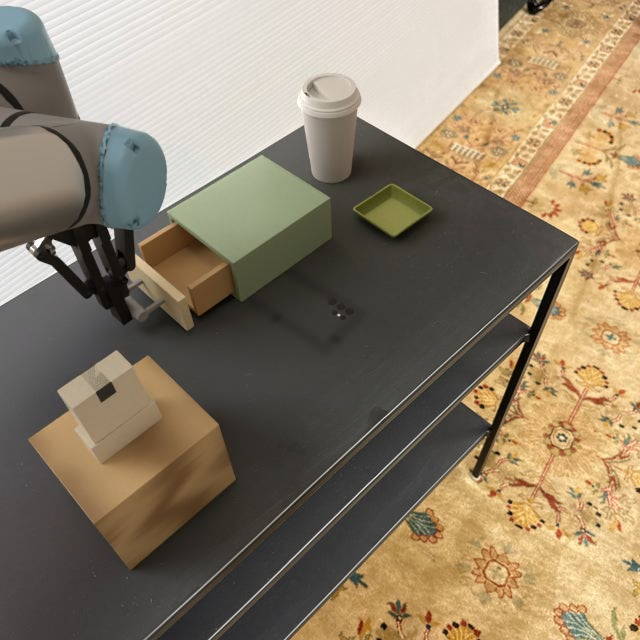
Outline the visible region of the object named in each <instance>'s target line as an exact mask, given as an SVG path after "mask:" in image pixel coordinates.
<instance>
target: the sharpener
mask: <svg viewBox="0 0 640 640" xmlns="http://www.w3.org/2000/svg"><path fill="white" fill-rule="evenodd" d="M56 392H57V394H58V395H59V397H60V398H61V400H62V401H63V403H64V404H65V406H66V408H67V409H68V411H69V410H70V412H71V414H72V415H73V417H74V418H75V420H76V421H77V423H78V425H79V426H78V427H76V428H75V431H76V433H77V434H78V436H79V437H80V439H81V440H82V442H83V443H84V445H85V446H86V447H87V448H88V450H89V451H90V452H91V453H92V454H93V455H94V457H95V458H96V459H97V460H98V461H99V463H100V464H102V463H104V462H105V461H106V460H108V459H109V458H110V457H112V456H113V455H114V454H116V453H117V452H118V451H120V450H121V449H122V448H124V447H125V446H126V445H127V444H129V443H130V442H131V441H133V440H134V439H135V438H137V437H138V436H139V435H141V434H142V433H143V432H145V431H146V430H147V429H149V428H150V427H151V426H152V425H154V424H155V423H156V422H158V421H159V420H160V419H162V416H161V413H160V411H159V409H158V407H157V404H156V402H155V401H154V400H153V399H152V398H151V397H150V396H149V395H148V393H147V392H146V391H145V390H144V389H143V387H142V385H141V383H140V381H139V379H138V376H137V374H136V372H135V370H134V368H133V364H131V363H130V362H129V360H128V359H127V358H125V357H124V355H123V354H121V353H120V352H119V350H118V349H117V350H114V351H113V352H112V353H110V354H109V355H107V356H106V357H104V358H103V359H102V360H99V361H98V362H96V363H95V364H94V365H92V366H90V367H89V368H87V369H86V370H84V371H83V372H81V373H80V374H79V375H78V376H76V377H75V378H73V379H72V380H70V381H69V382H67V383H66V384H64V385H63V386H62V387H60V388H59V389H57V390H56Z"/></svg>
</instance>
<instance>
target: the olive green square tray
mask: <svg viewBox="0 0 640 640" xmlns="http://www.w3.org/2000/svg"><path fill="white" fill-rule="evenodd" d="M352 210H353V212H354V213H355V214H356V215H357V216H359V217H360V218H362V219H364V221H366V222H368V223H370V224H371V225H372V226H374V227H375V228H377V229H378V230H379V231H382V233H385V234H386V235H387V236H389V237H391V238H392V239H394V238H396V237H398V236H399V235H400V234H402V233H403V232H405V231H406V230H408V229H409V228H411V227H412V226H413V225H415V224H417V223H418V222H419V221H421V220H422V219H423V218H425V217H426V216H427V215H429V214H430V213H431V212H432V211H433V210H434V208H433V207H432V206H431V205H429V204H428V203H426V202H424V201H423V200H422V199H420V198H418V197H416V196H414V194H411V193H409V192H408V191H406V190H405V189H403V188H402V187H400V186H399V185H396V184H395V183H390V184H387V185H386V186H384V187H383V188H382V189H380V190H378V191H377V192H375V193H374V194H373V195H370V196H369V197H367V198H366V199H365V200H363V201H361V202H359V203H358V204H357V205H355V206H354V207H352Z"/></svg>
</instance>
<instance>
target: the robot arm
mask: <svg viewBox="0 0 640 640" xmlns="http://www.w3.org/2000/svg"><path fill="white" fill-rule="evenodd" d="M167 179H168V166H167V160H166V156H165V152H164V150H163V148H162V146H161V144H160V143H159V142H158V140H157V139H156V138H155V137H154V136H153V135H151V134H150V133H148V132H146V131H143V130H139V129H134V128H130V127H126V126H122V125H120V124H119V123H117V122H116V123H115V122H112V123H110V124H109V123H103V122H97V121H90V120H83V119H81V117H80V115H79V113H78V110H77V108H76V104H75V102H74V99H73V96H72V94H71V91H70V88H69V85H68V81H67V78H66V76H65V73H64V70H63V67H62V64H61V61H60V54H59V53H58V52H57V50H56V48H55V46H54V44H53V42H52V39H51V38H50V35H49V33H48V31H47V29H46V26H45V23H44V22H43V21H42V19H41V17H39V16H38V14H36V13H35V12H34V11H32V10H31V9H28V8H25V7H21V6H13V5H0V253H3V252H6V251H8V250H11V249H13V248H17V247H19V246H23V245H25V249H26V250H27V251H28V252H29V254H31V255H32V256H33V257H34V258H35V259H36V260H37V261H38V262H40V263H43V264H46V265H48V266H51V267H52V268H53V269H54V270H55V271H56V272H57V273H58V274H59V275H60V276H61V277H62V278H63V279H64V280H65V281H66V282H67V283H68V284H69V285H70V286H71V287H72V288H73V289H74V290H75V291H76V292H77V293H78V294H79V295H80V296H81V297H82V298H83V299H84V300H89V299H90V298H92V296H94V297H95V299H96V301H97V303H98V304H99V305H100V306H101V307H102V308H103V309H104V310H106V311H108V310H109V311H110V313H111V315H112V316H113V317H114V318H115V319H116V320H117V321H118V322H119V323H120V324H121V325H122V326H123V327H124V326H126V325H127V324H128V323H130V322H131V321H133V320H134V317H133V315H132V314H131V313H130V311H129V308H128V306H127V303H126V301H125V298H126V297H128V296H129V295H130V292H131V291H129V289H128V287H127V286H128V284H129V281H130V279H129V277H127V276H126V274H128V273H127V272H128V271H133V270H134V269H135V267H136V260H135V254H136V247H135V245H136V244H135V233H134V232H135V231H137V230H142V229H143V228H145V227H147V226H148V225H150V224H151V223H152V222H153V220H155V218H156V217H157V216H158V214H159V212H160V210H161V209H162V206H163V203H164V201H165V196H166V192H167V187H168V183H167ZM109 229H110V230H113V239H114V245H113V243H112V236H111V234H110V230H109ZM53 241H56V242H59V243H61V244H64V245H67V246H70V247H71V249H72V253H73V254H74V256H75V258H76V261H77V263H78V265H79V267H80V269H81V271H82V273H83V277H84V278H85V279H84V280H82V279H81V278H80V277H79V276H78V275H77V274H76V272H74V270H72V268H70V266H69V265H67V264H66V262H65V261H64V260H62V259H61V258H60V257H59V255H58V254H57V251H56V246H55V245H54V244H53ZM90 241H92V242H93V246H94V247H95V249H96V252H97V255H98V257H99V259H100V261H101V264H102V266H103V268H104V270H105V272H106V273H107V274H105V275H104V276H103V274H102V273H101V271H100V267H99V266H98V264H97V261H96V258H95V256H94V255H93V248H92V246H91V243H90ZM130 296H131V295H130Z"/></svg>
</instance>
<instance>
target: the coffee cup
mask: <svg viewBox="0 0 640 640" xmlns="http://www.w3.org/2000/svg"><path fill="white" fill-rule="evenodd" d="M362 101H363V100H362V94H361V91H360V89H359V88H358V86H357V84H356V82H355V81H354V80H353V79H352V78H351V77H349V76H347V75H346V74H342V73H337V72H336V73H335V72H326V73H325V72H324V73H319V74H316V75H313V76H310V77H309V78H308V79H306V80H305V81H304V82H303V84H302V86H301V89H300V90H299V93H298V95H297V100H296V104H297V106H298V108H299V109H300V111H301V115H302V122H303V127H304V132H305V133H304V134H305V139H306V140H305V141H306V144H307V151H308V157H309V163H310V170H311V174H312V177H313V178H314V179H316V180H317V181H319V182H321V183H325V184H337V183H340V182H343V181H345V180H346V179H348V178H349V177H350V176H351V173H352V169H353V168H352V167H353V157H354V149H355V148H354V146H355V137H356V126H357V120H358V119H357V118H358V111H359V110H358V108H359V107H360V106H361V104H362Z"/></svg>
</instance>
